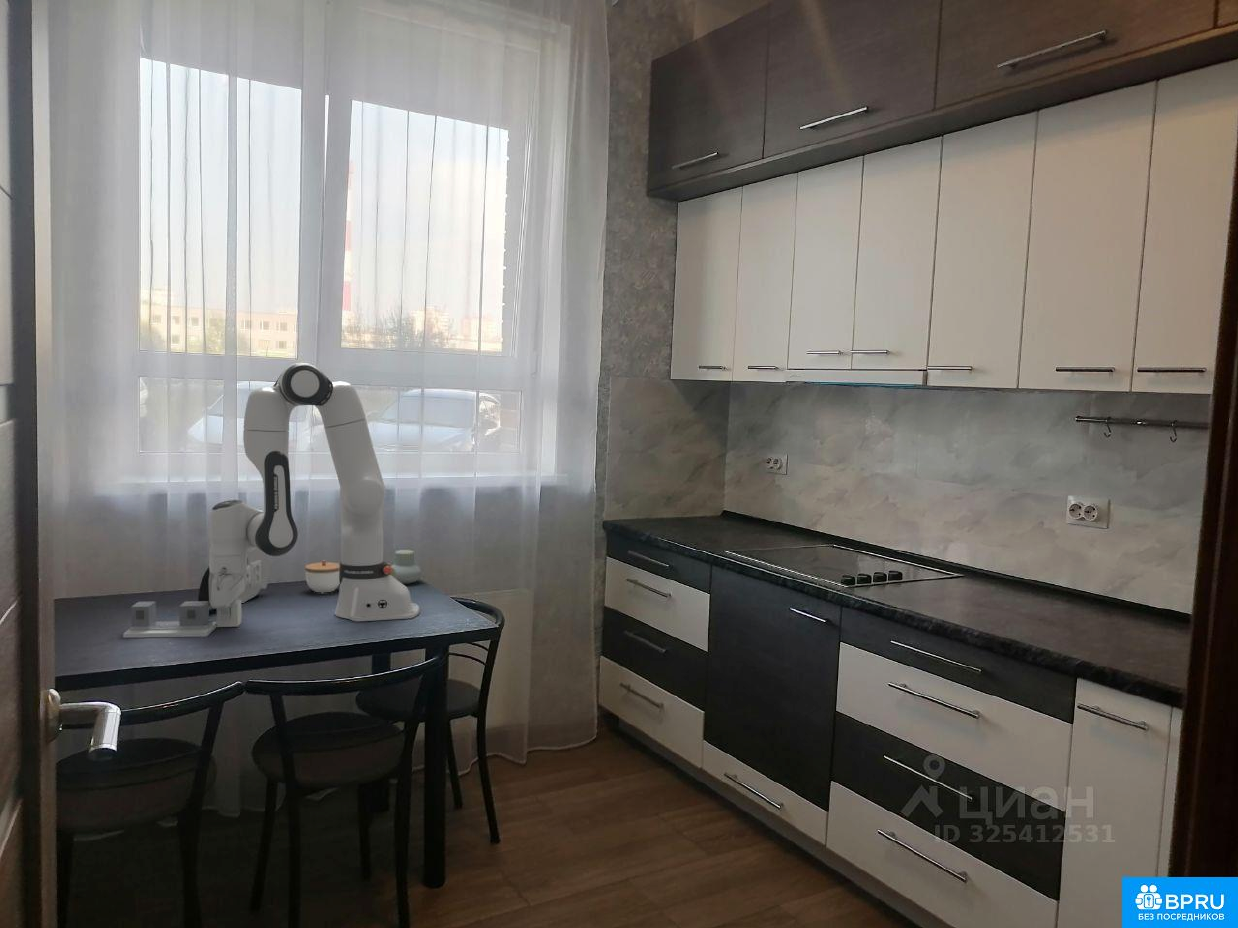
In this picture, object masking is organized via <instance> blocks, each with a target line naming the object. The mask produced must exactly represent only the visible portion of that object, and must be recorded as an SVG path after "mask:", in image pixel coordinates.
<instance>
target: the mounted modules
mask: <svg viewBox="0 0 1238 928" xmlns="http://www.w3.org/2000/svg"><path fill="white" fill-rule="evenodd" d="M178 607H179V608H178V610H179V612H178V613H179V616H178V617H179V620H178V621H179V623H180V626H204V625H205V624H206V623H207V622H208V621H210V613H209V610H210V606H209V601H198V600H195V601H194V600H192V601H191V600H190V601H187V600H185V601H184V602H183V603H181V604H180V605H179V606H178ZM130 611H131V613H130V615H131V616H130V618H131V619H130V621H131V623H130V624H131V625H130V626H131V627H149V626H150V625H152V624H153V623H154V622H157V613H156V611H157V605H156V601H137V602H136V603H135V604H133V605H132V606H131V607H130Z"/></svg>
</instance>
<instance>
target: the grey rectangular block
mask: <svg viewBox="0 0 1238 928" xmlns="http://www.w3.org/2000/svg"><path fill="white" fill-rule="evenodd" d="M213 622H214V621H212V620H209V621H208V622H207V623H206V624H205V625H204V626H180V623H179V620H178V621H177V620H176V621H156V622H154V623H153V624H152V625H150V626H149V627H131V625H130V626H129V629H130V630H187V629H209V628H210V627H211V626H212V625H213Z"/></svg>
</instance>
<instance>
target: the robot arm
mask: <svg viewBox="0 0 1238 928" xmlns="http://www.w3.org/2000/svg"><path fill="white" fill-rule="evenodd" d="M246 402H247V403H246V407H245V411H244V418H243V419H244V420H243V432H242V433H243V434H242V440H243V447H244V448H243V449H244V454H245V456H246V458H247V459H248V461H250V462H251V463H252V464H253V466H254V467H255V468H256V469H257V471H258V472H259V474H260V476H261V479H262V484H263V505H264V506H263V507H264V510H261V509H258V508H255V507H253V506H252V505H249V504H246V503H245V502H244V501H242V500H239V499H234V500H233V499H232V500H225V501H221V502H218V503H217V504H215V505H214V506H213V507H212V508H211V510H210V514H209V520H208V521H209V522H208V523H209V524H208V526H209V527H208V538H209V541H210V542H209V543H210V548H209V555H208V557H209V561H208V563H209V566H208V567H209V568H210V573H213V574H215V578H214V579H213V581H212V589H211V605H212V607H211V608H212V609H214V610H215V609H216V610H217V609H220V611H221V614H222V621H229V620H230V610H229V608H230V604H231V603H232V602H233V601H234V600H238V596H239V595H240V594H241V593H242V592H243V591H244V590H245V585H246V572H247V565H248V564H249V557H247V551H248V549H249V548H258V549H260V550H261V551H263V552H264V553H266V555H267V556H271V557H280V556H284V555H286V554H288V552H290V551H291V550H292V549H293V548H294V547H295V545H296V544H297V541H298V535H299V532H298V527H297V525H296V522H295V520H294V517H293V513H292V499H291V498H292V497H291V496H292V495H291V492H292V491H291V473H290V472H291V471H290V464H289V463H290V460H289V459H290V458H289V445H290V444H289V443H290V442H289V441H290V440H289V439H290V418H291V413H292V411H293V410H294V409H296V407H298V406H303V407H304V406H314V407H316V409H317V410H318V412H319V415H320V416H321V419H322V424H323V428H324V429H323V430H324V433H325V436H326V440H327V444H328V447H329V452H330V454H331V459H332V463H333V466H334V469H335V472H336V477H337V480H338V484H339V497H340V498H339V503H340V504H339V506H340V507H339V508H340V512H339V513H340V533H341V534H340V535H341V537H340V539H341V540H340V541H341V542H340V545H341V546H340V547H341V548H340V552H341V553H340V563H339V564H340V565H339V582H340V584H339V592H338V597H337V598H338V599H337V604H336V606H335V610H334V615H335V616H336V617H339V618H343V619H348V620H351V621H353V622H368V621H370V622H371V621H372V622H373V621H385V620H386V621H387V620H402V619H404V620H405V619H412V618H415V617H416V616H418V615H419V613H420V607H419V605H418V604H416V603H413V602H412V597H411V593H410V590H409V588H408V587H407V586H406V584H402V583H400V582H399V581H398V580H396V579H395V578H394V577H392V576H391V575H390V572H391V566H392V565H391V564H390V562H388V563H387V562H386V561H384V529H383V513H382V510H383V509H382V507H383V506H384V505H385V503H386V498H387V491H386V487H385V483H384V479H383V476H382V473H381V472H382V471H381V468H380V466H379V463H378V459H377V456H376V453H375V449H374V445H373V442H372V438H371V437H372V436H371V434H370V430H369V426H368V423H367V418H366V413H365V411H364V407H363V406H362V405H363V404H362V402H361V399H360V397H359V395H358V393H357V390H356V389H355V387H354V385H353V384H352V383H349V382H347V381H339V380H338V381H331V380H330V379H329V377H327V376H326V374H325V373H324V372H323V371H322V370H321V369H319V367H317V366H315V365H314V364H311V363H308V362H295V363H292V364H290V365H289V366H287V367H286V368H285V369H284V370H283V371H282V372H281V374H280V375H279V376H278V378H277V380H276V381H275V383H274V384H273V386H271V387H269V386H267V387H265V386H264V387H260V388H256V389H255V390H253V391H251V392H250V394H249V395H248V399H247V401H246Z"/></svg>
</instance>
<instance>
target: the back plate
mask: <svg viewBox="0 0 1238 928" xmlns="http://www.w3.org/2000/svg"><path fill="white" fill-rule="evenodd" d="M216 628H218V627H217V621H213V625H212V626H211V627H210V628H209V629H187V630H130V628H129V629H128V630H126V631H125V632H123V635H122V637H123V639H124V638H125V639H127V638H128V639H131V638H140V639H141V638H187V637H188V638H189V637H190V638H191V637H192V638H193V637H194V638H195V637H201V638H202V637H204V638H205V637H208V636H209V635H210V634H211V633H212V632H213V631H214V630H215V629H216Z"/></svg>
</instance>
